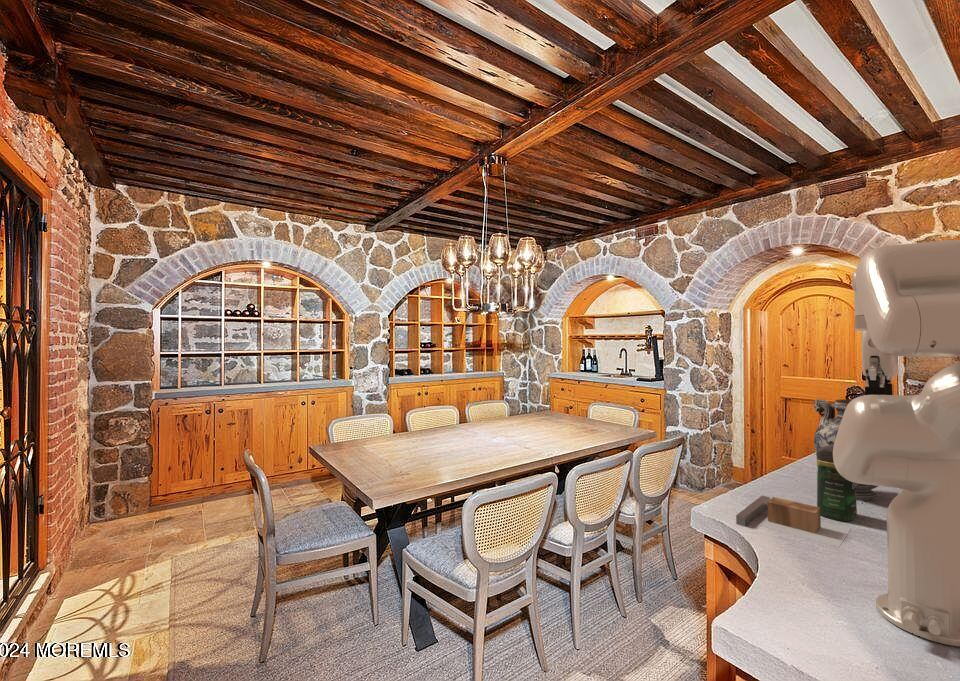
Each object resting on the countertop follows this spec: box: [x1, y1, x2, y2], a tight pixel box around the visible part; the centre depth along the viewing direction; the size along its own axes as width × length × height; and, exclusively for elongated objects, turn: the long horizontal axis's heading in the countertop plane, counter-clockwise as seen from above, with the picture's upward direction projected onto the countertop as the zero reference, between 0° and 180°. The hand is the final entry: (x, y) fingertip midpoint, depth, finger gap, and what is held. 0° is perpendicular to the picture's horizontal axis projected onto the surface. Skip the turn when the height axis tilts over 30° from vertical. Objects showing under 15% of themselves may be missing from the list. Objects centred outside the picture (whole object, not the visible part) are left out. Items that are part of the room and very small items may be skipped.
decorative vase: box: [813, 398, 879, 501], centre depth 130 cm, size 21×19×28 cm
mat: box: [758, 516, 852, 548], centre depth 108 cm, size 14×16×1 cm
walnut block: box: [767, 496, 822, 534], centre depth 110 cm, size 5×5×10 cm
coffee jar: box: [816, 444, 858, 523], centre depth 115 cm, size 10×8×19 cm
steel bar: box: [735, 495, 771, 527], centre depth 117 cm, size 20×2×2 cm, turn 131°
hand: (879, 403), depth 93 cm, fingers open, 9 cm apart
